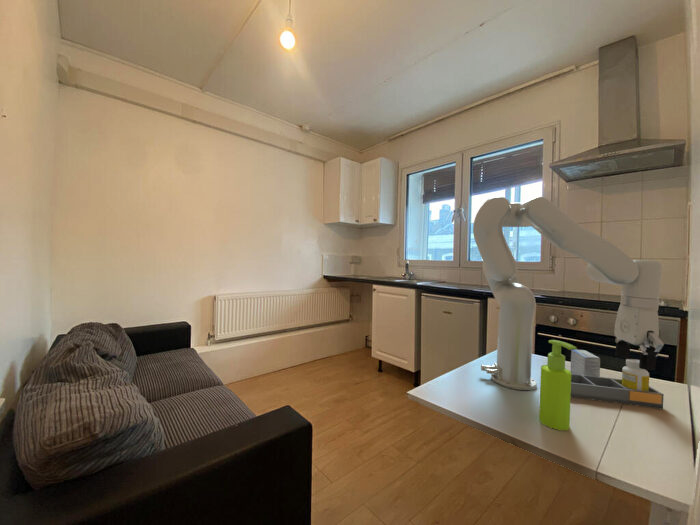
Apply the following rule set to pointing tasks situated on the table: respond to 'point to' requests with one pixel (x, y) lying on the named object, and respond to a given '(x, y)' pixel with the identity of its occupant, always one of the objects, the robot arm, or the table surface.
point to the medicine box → (584, 363)
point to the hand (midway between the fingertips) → (633, 362)
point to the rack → (613, 391)
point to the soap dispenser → (555, 389)
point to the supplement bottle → (635, 376)
